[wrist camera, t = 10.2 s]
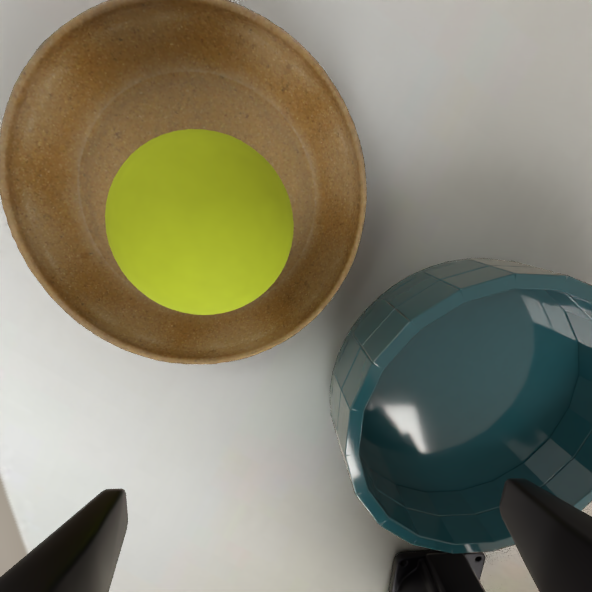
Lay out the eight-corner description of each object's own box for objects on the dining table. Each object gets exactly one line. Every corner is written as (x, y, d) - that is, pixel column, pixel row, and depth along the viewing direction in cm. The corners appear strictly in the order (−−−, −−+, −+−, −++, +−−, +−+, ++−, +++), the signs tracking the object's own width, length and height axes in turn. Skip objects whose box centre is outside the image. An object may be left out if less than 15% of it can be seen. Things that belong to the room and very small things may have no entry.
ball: (260, 267, 17) (310, 337, 12) (121, 275, 15) (114, 365, 10) (268, 129, 14) (337, 148, 9) (98, 114, 12) (74, 129, 7)
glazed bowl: (544, 488, 25) (600, 545, 21) (319, 496, 23) (332, 561, 19) (611, 263, 20) (699, 280, 16) (342, 251, 19) (365, 267, 15)
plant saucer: (376, 301, 20) (394, 317, 17) (114, 375, 19) (93, 402, 17) (313, -15, 15) (324, -57, 13) (-27, 72, 15) (-85, 47, 12)
